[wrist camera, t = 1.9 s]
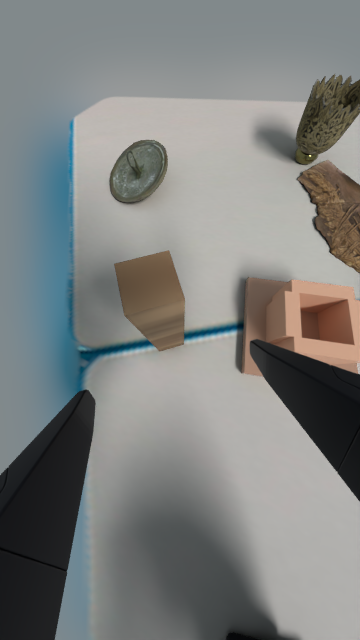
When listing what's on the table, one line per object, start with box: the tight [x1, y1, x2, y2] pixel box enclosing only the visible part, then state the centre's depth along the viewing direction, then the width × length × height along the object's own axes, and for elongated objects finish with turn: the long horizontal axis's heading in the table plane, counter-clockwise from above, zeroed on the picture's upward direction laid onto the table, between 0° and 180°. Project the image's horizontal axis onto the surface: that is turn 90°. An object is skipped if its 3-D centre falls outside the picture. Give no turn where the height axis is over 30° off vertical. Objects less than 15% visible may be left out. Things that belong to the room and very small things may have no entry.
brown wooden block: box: [114, 251, 185, 351], centre depth 15 cm, size 3×3×13 cm
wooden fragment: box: [298, 160, 360, 273], centre depth 26 cm, size 26×11×1 cm, turn 3°
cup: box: [295, 74, 360, 164], centre depth 27 cm, size 8×7×8 cm
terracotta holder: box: [241, 277, 360, 377], centre depth 19 cm, size 12×12×5 cm
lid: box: [110, 140, 168, 203], centre depth 27 cm, size 11×10×5 cm
